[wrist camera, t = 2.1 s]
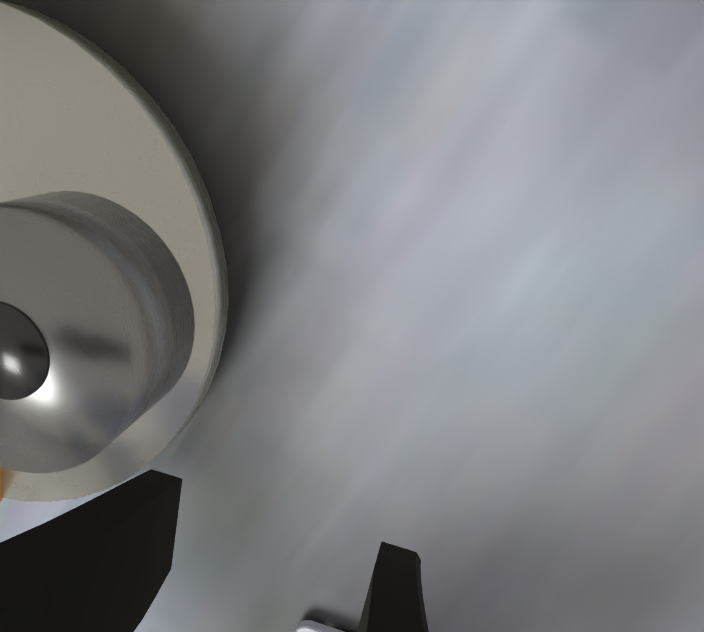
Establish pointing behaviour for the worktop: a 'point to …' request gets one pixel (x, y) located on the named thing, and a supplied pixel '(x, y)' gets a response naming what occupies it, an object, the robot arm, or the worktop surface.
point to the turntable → (120, 187)
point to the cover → (83, 327)
